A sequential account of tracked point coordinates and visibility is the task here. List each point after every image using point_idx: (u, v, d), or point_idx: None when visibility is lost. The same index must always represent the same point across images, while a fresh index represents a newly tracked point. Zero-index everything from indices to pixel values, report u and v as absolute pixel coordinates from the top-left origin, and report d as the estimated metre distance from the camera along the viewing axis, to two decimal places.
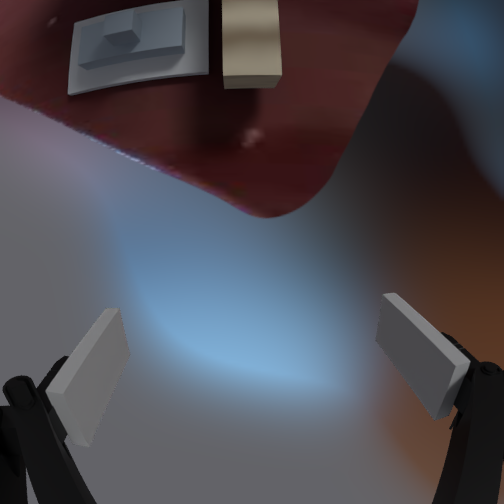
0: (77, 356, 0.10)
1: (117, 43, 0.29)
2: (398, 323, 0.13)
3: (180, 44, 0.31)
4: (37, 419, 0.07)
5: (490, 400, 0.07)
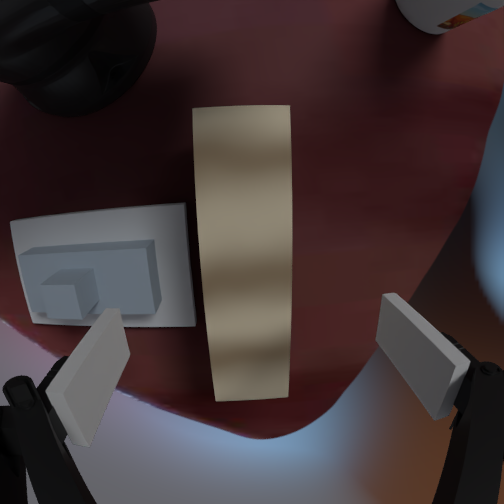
0: (77, 356, 0.10)
1: None
2: (398, 323, 0.13)
3: (153, 312, 0.26)
4: (37, 419, 0.07)
5: (490, 400, 0.07)
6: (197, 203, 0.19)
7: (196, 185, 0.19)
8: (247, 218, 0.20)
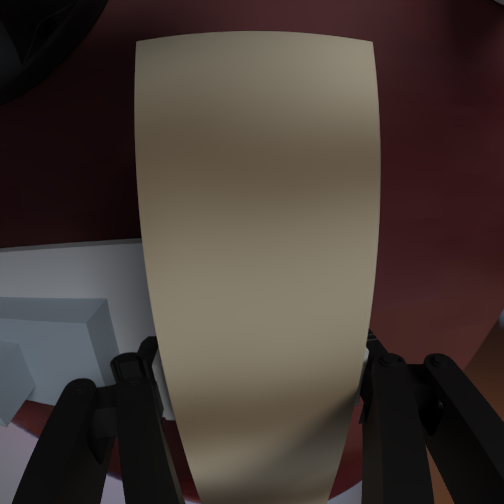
0: None
1: None
2: None
3: None
4: (142, 397, 0.08)
5: (397, 393, 0.08)
6: (149, 275, 0.08)
7: (144, 232, 0.07)
8: (270, 310, 0.08)
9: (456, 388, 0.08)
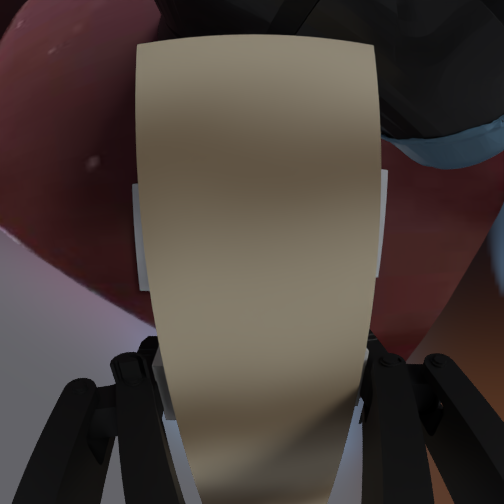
0: None
1: None
2: None
3: None
4: (142, 397, 0.08)
5: (396, 393, 0.08)
6: (151, 279, 0.08)
7: (145, 235, 0.07)
8: (271, 313, 0.08)
9: (456, 388, 0.08)
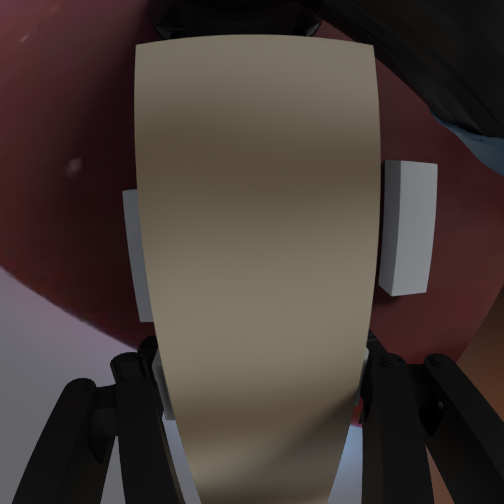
0: None
1: None
2: None
3: None
4: (142, 397, 0.08)
5: (396, 393, 0.08)
6: (150, 280, 0.08)
7: (144, 236, 0.07)
8: (271, 314, 0.08)
9: (456, 388, 0.08)
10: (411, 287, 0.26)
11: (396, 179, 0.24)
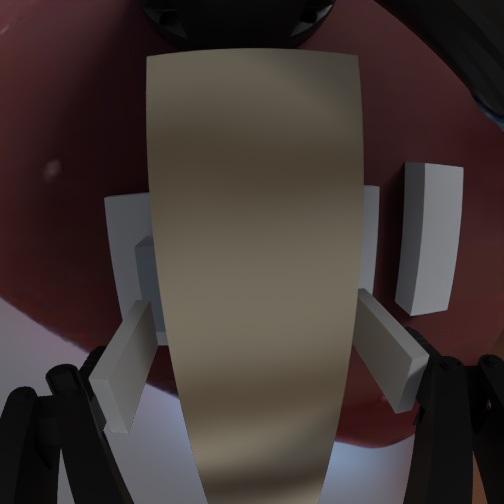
0: (116, 344, 0.11)
1: None
2: (364, 317, 0.14)
3: None
4: (79, 408, 0.07)
5: (453, 395, 0.07)
6: (159, 265, 0.09)
7: (154, 226, 0.08)
8: (266, 296, 0.09)
9: None
10: (432, 305, 0.23)
11: (418, 184, 0.21)
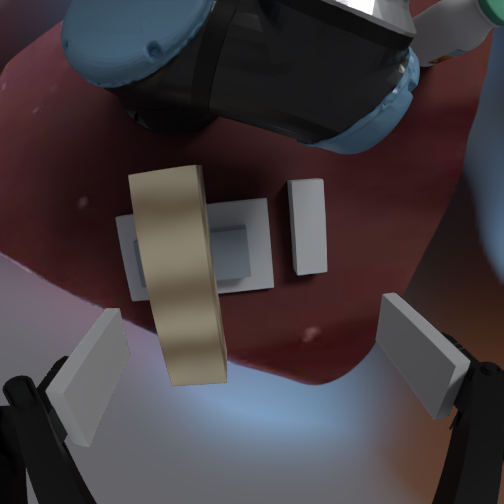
0: (77, 356, 0.10)
1: None
2: (398, 323, 0.13)
3: (249, 275, 0.39)
4: (37, 419, 0.07)
5: (490, 400, 0.07)
6: (138, 242, 0.27)
7: (136, 229, 0.27)
8: (173, 250, 0.27)
9: None
10: (313, 268, 0.41)
11: (291, 194, 0.39)
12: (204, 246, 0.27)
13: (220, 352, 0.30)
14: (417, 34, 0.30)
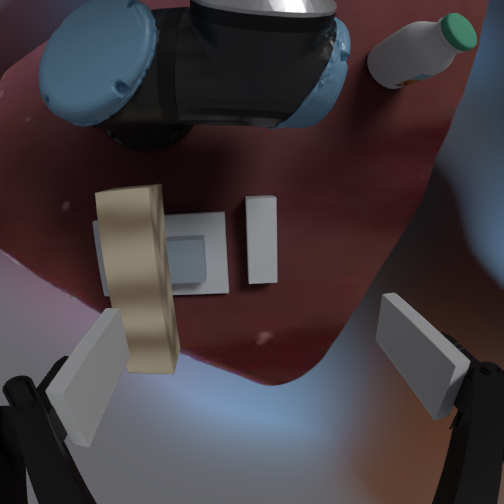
0: (77, 356, 0.10)
1: None
2: (398, 323, 0.13)
3: (204, 281, 0.43)
4: (37, 419, 0.07)
5: (490, 400, 0.07)
6: (102, 249, 0.31)
7: (100, 238, 0.31)
8: (129, 258, 0.31)
9: None
10: (264, 278, 0.45)
11: (246, 210, 0.43)
12: (154, 256, 0.32)
13: (167, 347, 0.34)
14: (383, 58, 0.34)
